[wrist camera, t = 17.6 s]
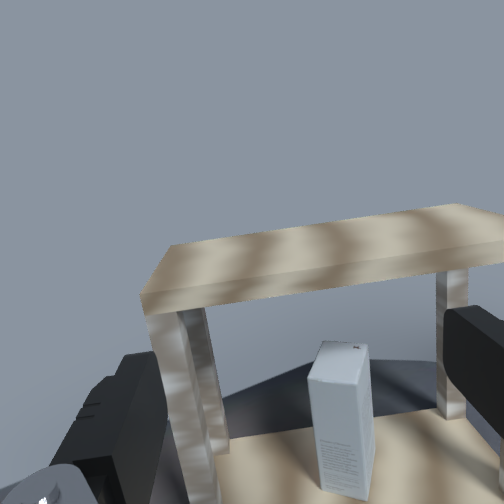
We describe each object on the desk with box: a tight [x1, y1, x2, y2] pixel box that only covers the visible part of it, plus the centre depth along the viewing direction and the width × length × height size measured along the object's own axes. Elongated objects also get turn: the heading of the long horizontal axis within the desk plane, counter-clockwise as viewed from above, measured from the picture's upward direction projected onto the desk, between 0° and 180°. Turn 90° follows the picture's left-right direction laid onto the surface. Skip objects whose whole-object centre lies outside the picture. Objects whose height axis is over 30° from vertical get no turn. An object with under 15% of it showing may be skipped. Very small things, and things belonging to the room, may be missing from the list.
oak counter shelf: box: [140, 203, 504, 504], centre depth 32 cm, size 27×12×24 cm, turn 92°
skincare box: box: [307, 341, 376, 501], centre depth 34 cm, size 6×4×12 cm
